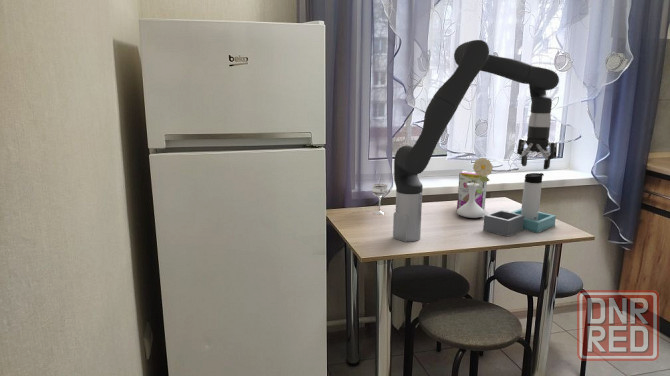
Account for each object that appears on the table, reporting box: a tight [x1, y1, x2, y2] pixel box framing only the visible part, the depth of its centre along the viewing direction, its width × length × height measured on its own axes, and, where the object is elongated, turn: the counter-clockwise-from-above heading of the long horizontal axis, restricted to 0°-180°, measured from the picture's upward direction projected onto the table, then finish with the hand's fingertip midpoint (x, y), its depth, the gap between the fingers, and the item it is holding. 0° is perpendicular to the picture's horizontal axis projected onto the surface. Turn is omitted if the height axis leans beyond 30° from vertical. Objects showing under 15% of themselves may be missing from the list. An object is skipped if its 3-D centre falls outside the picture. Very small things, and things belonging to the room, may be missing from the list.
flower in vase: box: [456, 157, 494, 219], centre depth 192 cm, size 13×11×25 cm
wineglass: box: [371, 183, 389, 215], centre depth 199 cm, size 7×7×12 cm
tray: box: [511, 207, 557, 234], centre depth 184 cm, size 14×14×4 cm
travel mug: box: [520, 172, 545, 221], centre depth 181 cm, size 6×7×20 cm
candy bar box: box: [456, 170, 488, 211], centre depth 204 cm, size 11×5×16 cm, turn 58°
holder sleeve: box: [482, 209, 524, 237], centre depth 177 cm, size 11×10×6 cm
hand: (534, 167), depth 179 cm, fingers open, 8 cm apart
